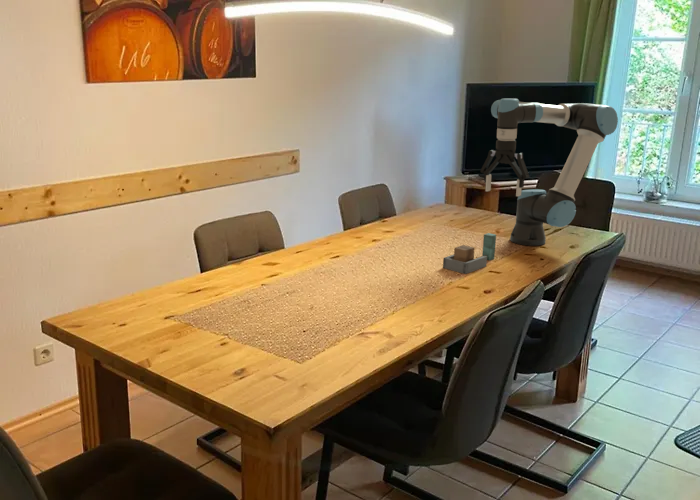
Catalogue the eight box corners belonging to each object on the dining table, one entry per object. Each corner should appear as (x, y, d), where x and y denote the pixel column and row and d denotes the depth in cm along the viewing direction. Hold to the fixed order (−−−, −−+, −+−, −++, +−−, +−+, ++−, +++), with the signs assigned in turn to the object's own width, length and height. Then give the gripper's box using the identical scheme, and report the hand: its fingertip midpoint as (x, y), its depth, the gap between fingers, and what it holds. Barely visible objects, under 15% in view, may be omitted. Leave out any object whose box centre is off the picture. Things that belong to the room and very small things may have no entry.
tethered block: (485, 256, 280) (487, 232, 277) (495, 259, 277) (497, 235, 274) (453, 267, 264) (454, 242, 262) (464, 270, 261) (465, 245, 258)
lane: (463, 260, 274) (464, 250, 273) (486, 266, 267) (487, 256, 266) (442, 267, 264) (443, 257, 263) (465, 274, 257) (466, 263, 256)
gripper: (473, 137, 272) (470, 190, 278) (531, 143, 256) (527, 199, 262) (483, 135, 277) (480, 187, 283) (540, 141, 261) (536, 196, 267)
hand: (503, 193), depth 273 cm, fingers open, 13 cm apart
